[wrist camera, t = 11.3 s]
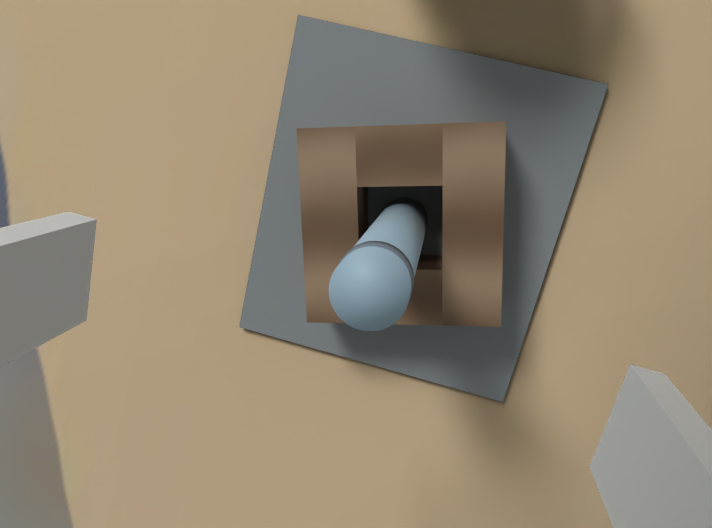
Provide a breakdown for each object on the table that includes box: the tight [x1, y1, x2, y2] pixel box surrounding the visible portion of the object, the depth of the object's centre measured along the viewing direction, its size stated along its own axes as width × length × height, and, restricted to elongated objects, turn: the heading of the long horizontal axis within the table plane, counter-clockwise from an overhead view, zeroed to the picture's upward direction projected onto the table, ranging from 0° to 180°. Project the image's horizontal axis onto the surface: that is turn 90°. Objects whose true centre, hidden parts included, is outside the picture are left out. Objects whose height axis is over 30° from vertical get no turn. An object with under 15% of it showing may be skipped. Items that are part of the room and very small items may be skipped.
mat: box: [239, 15, 608, 402], centre depth 35 cm, size 20×18×1 cm
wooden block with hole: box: [296, 121, 506, 327], centre depth 33 cm, size 11×11×4 cm
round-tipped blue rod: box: [329, 197, 428, 331], centre depth 27 cm, size 3×3×16 cm
